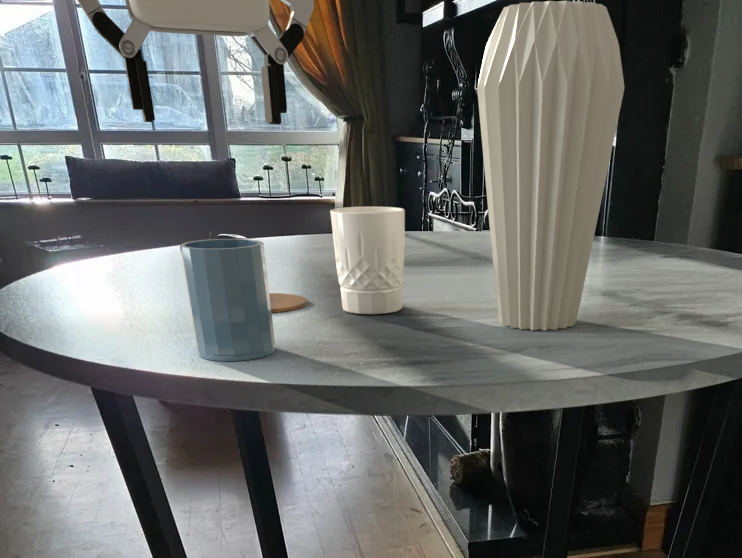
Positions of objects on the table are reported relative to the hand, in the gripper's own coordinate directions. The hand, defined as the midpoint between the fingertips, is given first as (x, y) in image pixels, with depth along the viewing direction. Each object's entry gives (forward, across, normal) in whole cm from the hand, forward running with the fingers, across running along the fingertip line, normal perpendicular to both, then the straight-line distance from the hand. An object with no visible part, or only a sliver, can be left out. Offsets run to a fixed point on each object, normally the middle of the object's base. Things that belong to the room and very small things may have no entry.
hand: (213, 123), depth 62 cm
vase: (+18, -31, -1) cm, 35 cm away
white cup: (+18, -17, -14) cm, 28 cm away
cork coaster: (+18, -6, -21) cm, 28 cm away
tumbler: (+18, 0, 0) cm, 18 cm away
